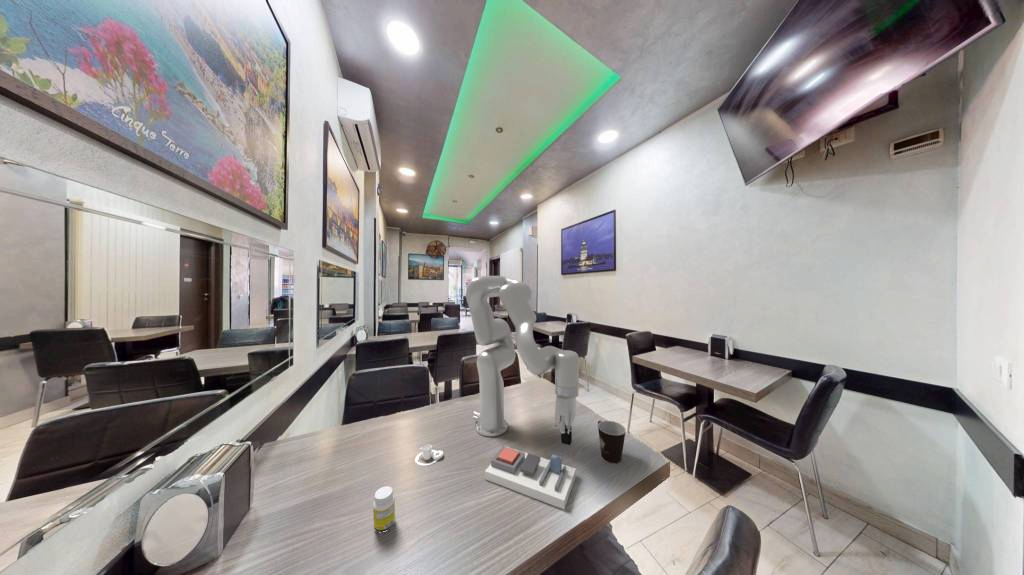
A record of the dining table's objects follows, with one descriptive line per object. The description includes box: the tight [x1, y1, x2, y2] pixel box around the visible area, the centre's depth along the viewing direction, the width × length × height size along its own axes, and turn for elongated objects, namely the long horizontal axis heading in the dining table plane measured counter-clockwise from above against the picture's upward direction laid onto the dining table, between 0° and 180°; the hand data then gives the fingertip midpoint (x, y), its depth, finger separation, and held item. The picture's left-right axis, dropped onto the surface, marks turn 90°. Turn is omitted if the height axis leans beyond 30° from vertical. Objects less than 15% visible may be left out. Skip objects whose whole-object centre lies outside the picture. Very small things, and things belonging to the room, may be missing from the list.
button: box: [497, 448, 519, 465], centre depth 86 cm, size 5×5×2 cm
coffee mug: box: [597, 420, 627, 464], centre depth 93 cm, size 12×9×10 cm
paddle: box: [549, 454, 563, 474], centre depth 81 cm, size 3×2×5 cm, turn 64°
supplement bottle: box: [372, 485, 396, 533], centre depth 67 cm, size 5×5×8 cm
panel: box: [484, 445, 577, 510], centre depth 83 cm, size 24×13×4 cm, turn 64°
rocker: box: [520, 452, 542, 476], centre depth 82 cm, size 4×6×1 cm, turn 154°
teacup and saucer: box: [414, 444, 444, 467], centre depth 92 cm, size 9×8×4 cm
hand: (566, 442), depth 92 cm, fingers closed
